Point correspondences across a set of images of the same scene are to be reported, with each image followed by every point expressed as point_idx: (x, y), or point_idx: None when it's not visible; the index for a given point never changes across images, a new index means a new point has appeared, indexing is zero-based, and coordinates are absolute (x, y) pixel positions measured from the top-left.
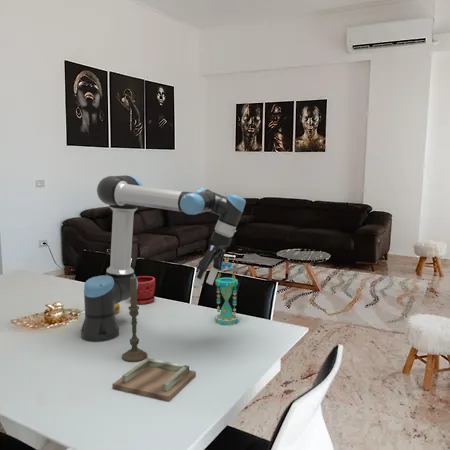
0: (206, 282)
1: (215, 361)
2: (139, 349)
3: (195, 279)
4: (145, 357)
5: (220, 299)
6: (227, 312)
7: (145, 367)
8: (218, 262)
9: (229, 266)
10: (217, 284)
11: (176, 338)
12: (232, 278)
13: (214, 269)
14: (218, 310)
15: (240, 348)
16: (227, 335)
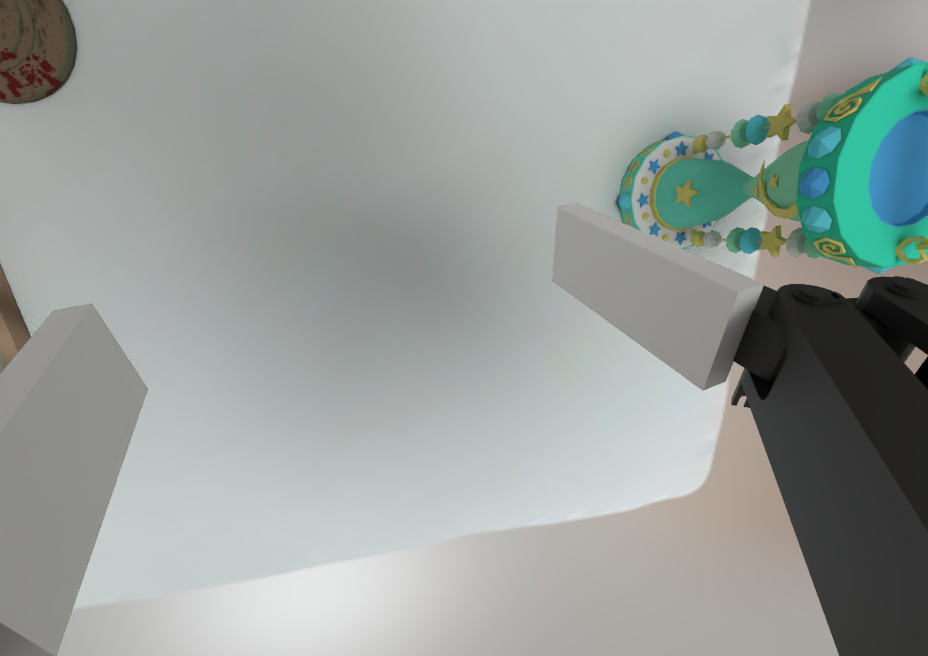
0: (557, 215)
1: (241, 401)
2: (3, 24)
3: (8, 375)
4: (17, 100)
5: (760, 142)
6: (682, 212)
7: None
8: (799, 518)
9: None
10: (827, 125)
11: (352, 93)
12: None
13: (704, 339)
14: (699, 146)
15: (415, 410)
16: (512, 294)
